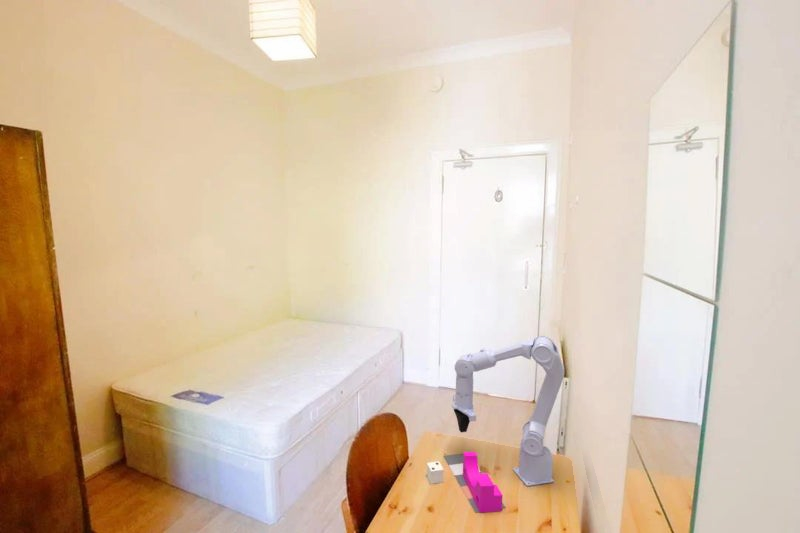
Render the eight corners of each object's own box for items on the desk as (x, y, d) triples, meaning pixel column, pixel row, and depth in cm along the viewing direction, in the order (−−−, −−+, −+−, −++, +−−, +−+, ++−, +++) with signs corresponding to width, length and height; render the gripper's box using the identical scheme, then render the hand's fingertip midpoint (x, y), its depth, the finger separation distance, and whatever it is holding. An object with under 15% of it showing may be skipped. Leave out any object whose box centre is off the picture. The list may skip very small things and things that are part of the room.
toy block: (501, 510, 94) (502, 484, 93) (479, 512, 93) (480, 486, 92) (481, 473, 109) (482, 451, 108) (462, 475, 108) (463, 452, 107)
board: (467, 454, 119) (467, 452, 119) (505, 509, 95) (505, 507, 95) (443, 457, 117) (443, 455, 117) (475, 514, 93) (475, 512, 93)
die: (438, 473, 108) (439, 461, 108) (443, 482, 105) (443, 469, 104) (426, 475, 108) (427, 462, 107) (430, 483, 104) (431, 471, 103)
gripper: (445, 384, 121) (444, 421, 122) (462, 403, 107) (460, 444, 108) (463, 382, 123) (462, 419, 124) (482, 401, 109) (481, 442, 110)
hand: (462, 431), depth 116 cm, fingers closed
